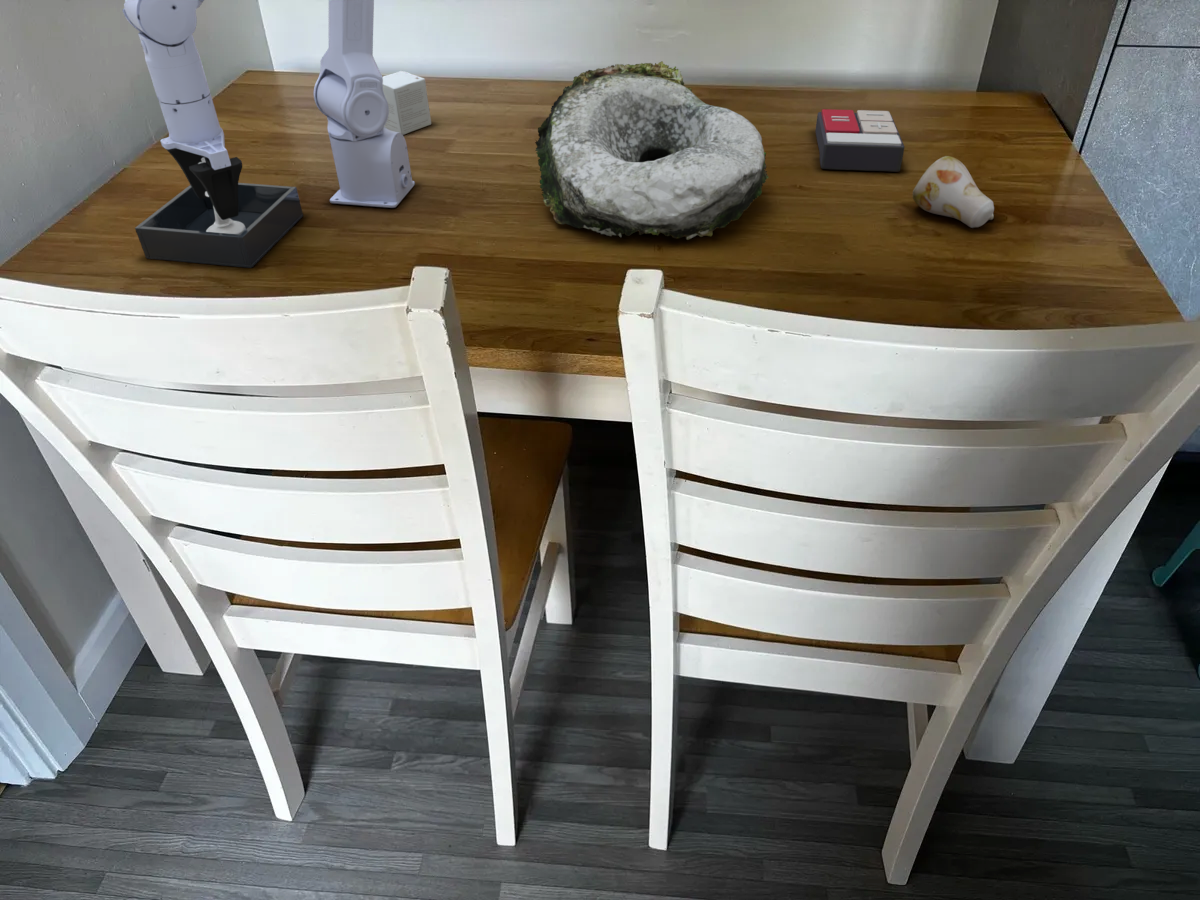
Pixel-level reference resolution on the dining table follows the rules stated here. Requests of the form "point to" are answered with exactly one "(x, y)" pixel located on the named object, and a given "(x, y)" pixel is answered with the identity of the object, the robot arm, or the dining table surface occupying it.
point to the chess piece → (224, 222)
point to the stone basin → (646, 155)
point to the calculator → (858, 140)
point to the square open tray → (186, 240)
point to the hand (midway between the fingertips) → (218, 206)
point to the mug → (952, 193)
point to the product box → (406, 102)
